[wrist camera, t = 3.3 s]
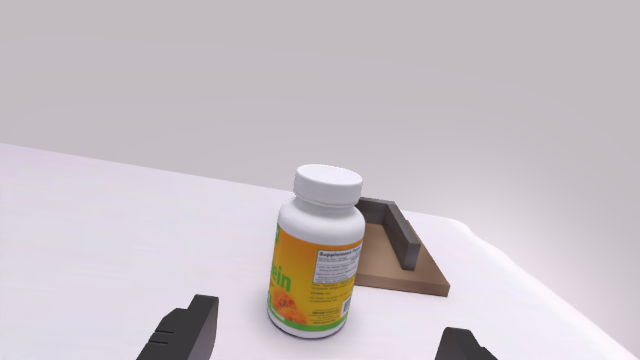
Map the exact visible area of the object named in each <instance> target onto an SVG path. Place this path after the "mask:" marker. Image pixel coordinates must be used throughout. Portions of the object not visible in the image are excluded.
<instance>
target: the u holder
mask: <svg viewBox="0 0 640 360" xmlns="http://www.w3.org/2000/svg"><path fill="white" fill-rule="evenodd" d="M354 207H356V208H357V209H358V210H359V211H360V212H361V214H362V215H363V217H364V220H365V232H364V237H363V242H362V247H361V251H360V256H359V261H358V266H357V271H356V276H355V281H354V285H362V286H370V287H378V288H385V289H393V290H401V291H408V292H416V293H424V294H431V295H439V296H447V295H448V292H449V288H450V285H449V283H448V281H447V280H446V278H445V277H444V275H443V274H442V272H441V271H440V269H439V268H438V266H437V265H436V263H435V261H434V260H433V258H432V257H431V255H430V254H429V252H428V251H427V249H426V248H425V246H424V245H423V243H422V241H421V240H420V238H419V237H418V235H417V234H416V232H415V231H414V229H413V228H412V226H411V225H410V223H409V221H408V220H405V218H404V216H403V215H402V213H401V212H400V210H399V209H398V207H397V205H396V204H395V202H393V201H386V200H379V199H371V198H365V197H360V198H359V201H358V203H357V204H355V205H354Z"/></svg>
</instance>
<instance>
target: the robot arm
mask: <svg viewBox="0 0 640 360" xmlns="http://www.w3.org/2000/svg"><path fill="white" fill-rule="evenodd" d="M218 304H219V298H218V297H214V296H206V295H198V294H196V295H195V296H194V298H193V300H192V302H191V303H190V305H189V307H188V309H181V308H176V309H174V310H173V311H172V312H170V313H169V314H168V315H166V316H165V317H164V318H163V319H162V320H161V322H160V323H159V325H158V327H157V328H156V330H155V333H153V334H152V336H151V337H150V339H149V340H148V343H147V344H146V345H145V347H144V348H143V350H142V351H141V353H140V354H139V356H138V357H137V359H136V360H209V359H210V356H211V353H212V350H213V347H214V343H215V337H216V328H217V316H218ZM435 360H498V359H497V358H496V357H495V356H493V355H492V354H491V353H490V352H489V351H488V350H487V349H486V348H485V347H480V345H479V344H478V342H477V340H476V339H475V337H474V336H473V334H472V332H471V331H470V330H467V329H460V328H452V327H446V328H445V329H444V332H443V335H442V338H441V341H440V344H439V347H438V351H437V354H436V357H435Z"/></svg>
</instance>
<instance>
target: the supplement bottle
mask: <svg viewBox="0 0 640 360" xmlns="http://www.w3.org/2000/svg"><path fill="white" fill-rule="evenodd" d="M362 182H363V180H362V177H361V176H359V175H358V174H356V173H354V172H352V171H349V170H347V169H343V168H339V167H335V166H329V165H319V164H311V165H310V164H309V165H303V166H300V167H298V168H297V170H296V175H295V182H294V189H293V191H294V193H295V195H296V197H294V198H291V199H289V200H288V201H286V202H285V203H284V204H283V205H282V207H281V209H280V211H279V216H278V223H277V231H276V239H275V247H274V255H273V262H272V270H271V277H270V285H269V292H268V301H267V309H268V313H269V315H270V317H271V319H272V320H273V322H274V323H275V324H276V325H277V326H278V327H280V328H281V329H283V330H284V331H286V332H288V333H290V334H293V335H295V336H299V337H304V338H320V337H325V336H328V335H331V334H333V333H334V332H336V331H337V330H339V329H340V328H341V327H342V325H343V324H344V322H345V320H346V317H347V313H348V309H349V305H350V300H351V295H352V290H353V286H354V281H355V276H356V271H357V266H358V261H359V256H360V251H361V247H362V242H363V237H364V232H365V220H364V217H363V215H362V214H361V212H360V211H359V210H358V209H357V208H356V207H354V205H355V204H357V203H358V201H359V198H360V196H361V188H362Z"/></svg>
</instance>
